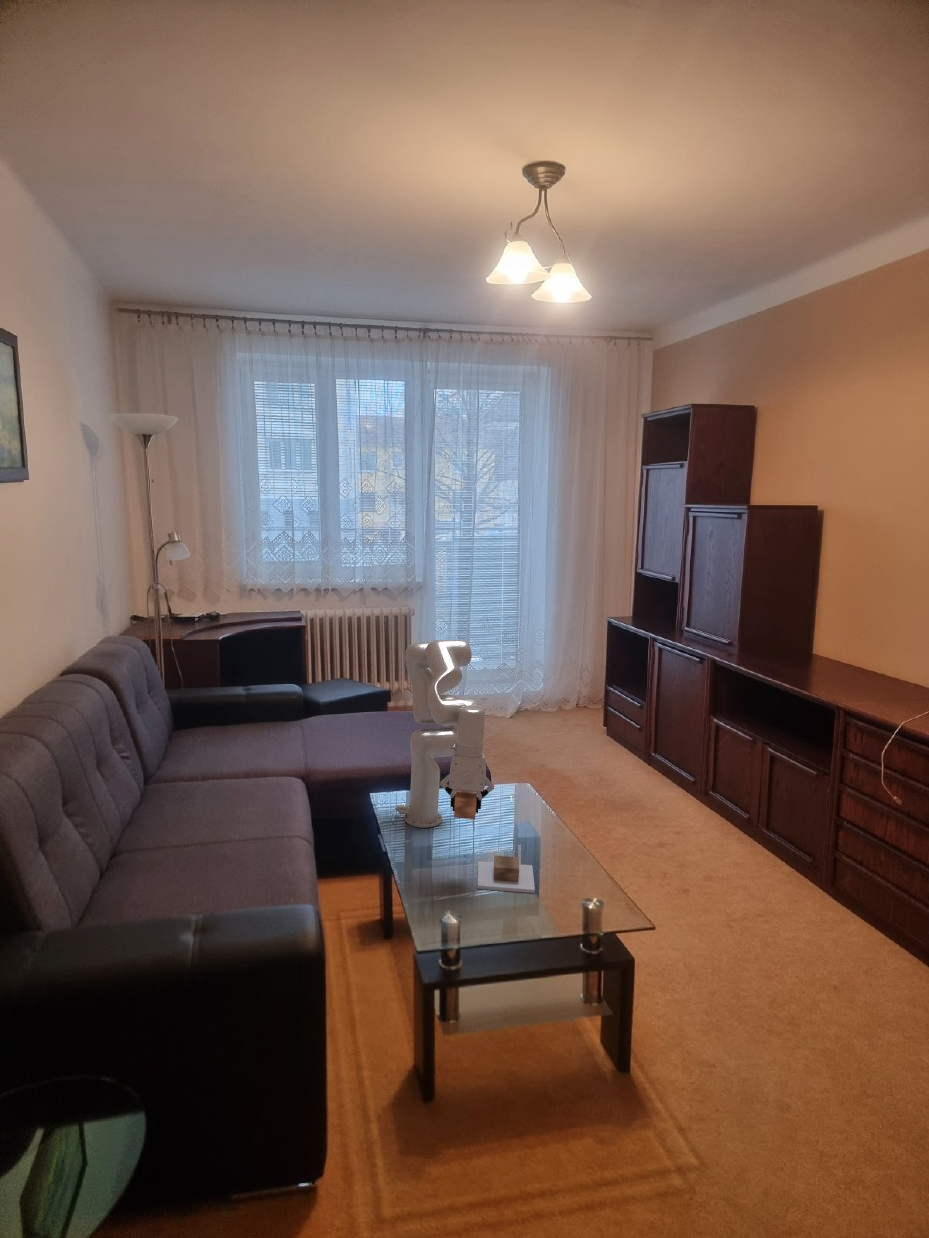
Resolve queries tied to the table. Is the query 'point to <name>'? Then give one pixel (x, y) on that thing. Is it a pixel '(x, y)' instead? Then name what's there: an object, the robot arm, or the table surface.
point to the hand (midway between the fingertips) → (465, 809)
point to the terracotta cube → (465, 804)
